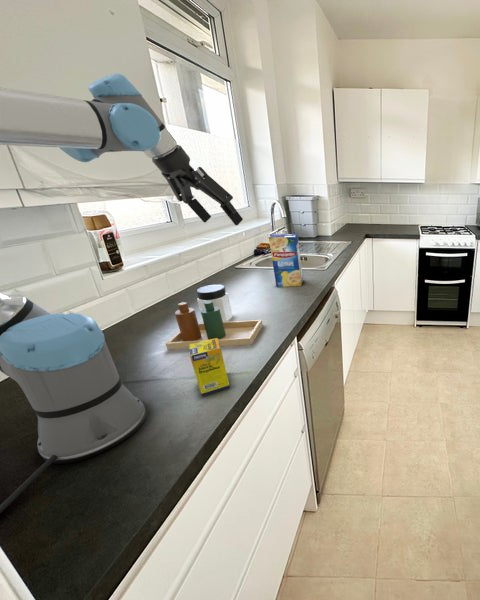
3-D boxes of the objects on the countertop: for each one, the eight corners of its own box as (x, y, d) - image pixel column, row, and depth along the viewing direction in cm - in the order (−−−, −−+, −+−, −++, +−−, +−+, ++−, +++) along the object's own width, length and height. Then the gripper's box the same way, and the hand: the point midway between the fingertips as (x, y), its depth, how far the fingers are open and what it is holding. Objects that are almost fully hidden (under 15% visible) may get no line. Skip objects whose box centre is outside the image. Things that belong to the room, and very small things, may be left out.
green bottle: (222, 340, 93) (213, 305, 89) (205, 341, 93) (195, 305, 88) (228, 332, 98) (220, 298, 93) (211, 333, 97) (203, 299, 93)
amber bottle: (197, 341, 92) (187, 306, 88) (179, 342, 92) (168, 307, 87) (204, 333, 97) (195, 299, 92) (187, 334, 96) (177, 300, 92)
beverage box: (301, 285, 141) (295, 236, 132) (276, 286, 139) (268, 237, 131) (303, 280, 147) (297, 233, 138) (279, 282, 145) (271, 234, 137)
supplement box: (230, 387, 74) (220, 347, 70) (201, 397, 71) (189, 356, 66) (227, 375, 78) (217, 337, 74) (199, 383, 75) (188, 344, 71)
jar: (204, 329, 101) (195, 294, 97) (202, 320, 108) (194, 287, 103) (234, 322, 106) (227, 289, 101) (231, 314, 112) (224, 282, 108)
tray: (251, 346, 91) (250, 338, 90) (168, 352, 88) (165, 343, 87) (263, 327, 103) (261, 319, 102) (189, 331, 100) (187, 323, 99)
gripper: (209, 141, 72) (261, 214, 89) (146, 144, 82) (203, 210, 98) (187, 159, 69) (245, 232, 85) (123, 160, 78) (187, 226, 95)
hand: (223, 220), depth 92 cm, fingers open, 13 cm apart
